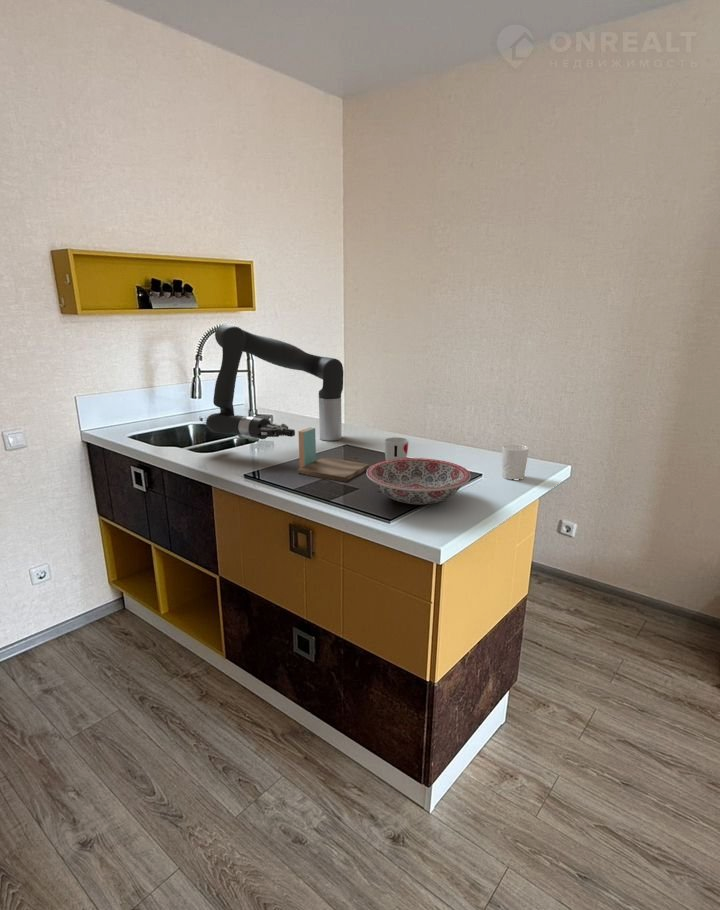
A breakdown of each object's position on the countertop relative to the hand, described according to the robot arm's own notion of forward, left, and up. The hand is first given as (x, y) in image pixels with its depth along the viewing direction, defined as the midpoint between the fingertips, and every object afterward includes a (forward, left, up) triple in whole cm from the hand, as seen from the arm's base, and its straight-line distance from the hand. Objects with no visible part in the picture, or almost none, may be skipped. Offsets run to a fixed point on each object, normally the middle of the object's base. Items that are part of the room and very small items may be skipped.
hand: (293, 433), depth 179 cm
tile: (+2, +5, -11) cm, 12 cm away
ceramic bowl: (+34, +39, -11) cm, 53 cm away
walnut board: (+8, +14, -11) cm, 20 cm away
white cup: (+15, +72, -11) cm, 74 cm away
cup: (+5, +35, -11) cm, 37 cm away
